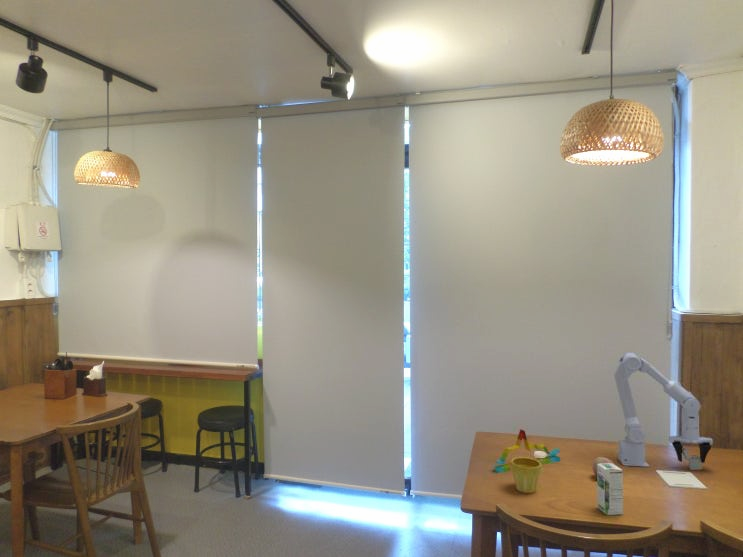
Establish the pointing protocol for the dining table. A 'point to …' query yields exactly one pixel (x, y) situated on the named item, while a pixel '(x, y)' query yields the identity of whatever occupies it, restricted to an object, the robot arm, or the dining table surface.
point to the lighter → (692, 460)
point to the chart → (547, 459)
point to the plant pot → (525, 473)
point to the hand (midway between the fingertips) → (691, 461)
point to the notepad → (680, 479)
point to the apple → (599, 461)
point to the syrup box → (610, 489)
